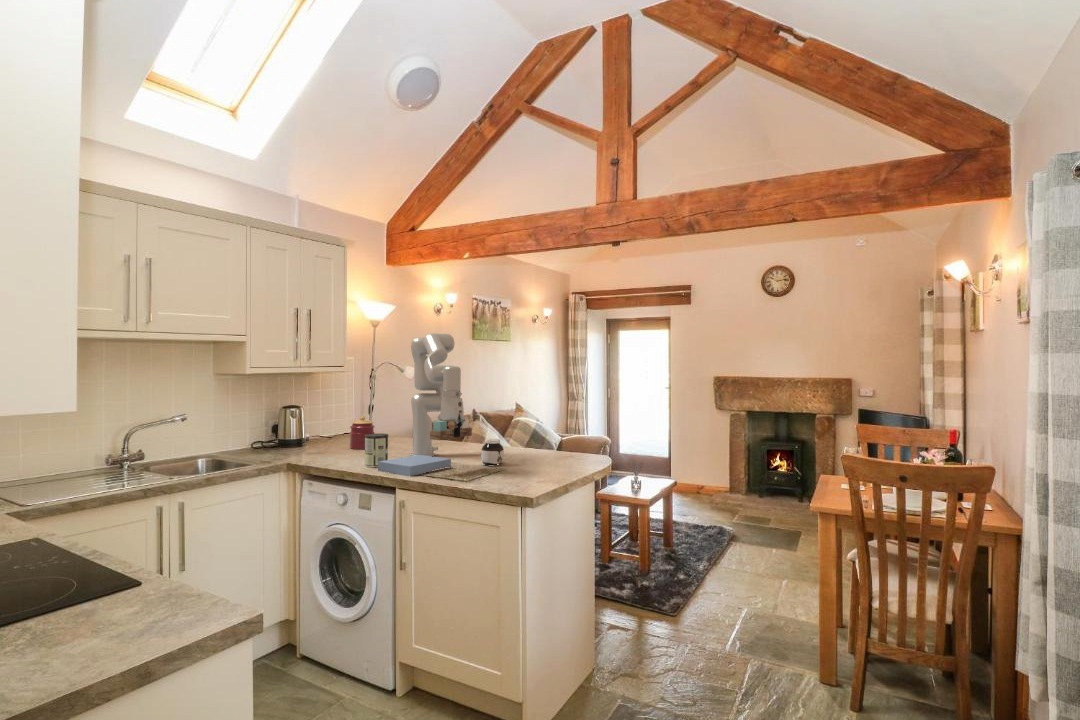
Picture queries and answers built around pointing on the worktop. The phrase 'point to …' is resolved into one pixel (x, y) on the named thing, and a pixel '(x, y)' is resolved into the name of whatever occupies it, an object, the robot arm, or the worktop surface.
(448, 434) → the brown long wavy block
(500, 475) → the worktop surface
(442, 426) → the teal cube
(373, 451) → the coffee can
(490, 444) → the spread jar
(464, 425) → the cream cube
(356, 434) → the canister
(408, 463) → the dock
